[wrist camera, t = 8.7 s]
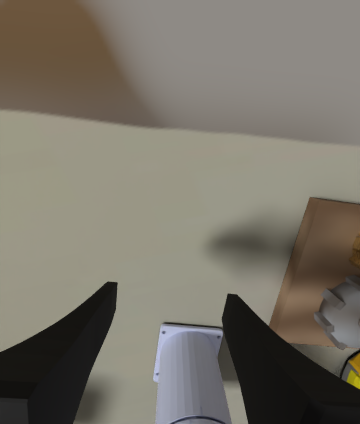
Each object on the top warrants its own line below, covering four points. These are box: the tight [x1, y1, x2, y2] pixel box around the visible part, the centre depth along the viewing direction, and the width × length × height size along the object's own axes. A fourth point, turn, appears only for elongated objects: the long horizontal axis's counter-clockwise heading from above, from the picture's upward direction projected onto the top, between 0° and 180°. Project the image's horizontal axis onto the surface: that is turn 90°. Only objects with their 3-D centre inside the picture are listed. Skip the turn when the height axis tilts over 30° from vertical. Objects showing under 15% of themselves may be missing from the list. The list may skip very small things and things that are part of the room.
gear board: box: [269, 197, 360, 350], centre depth 21 cm, size 18×14×4 cm
